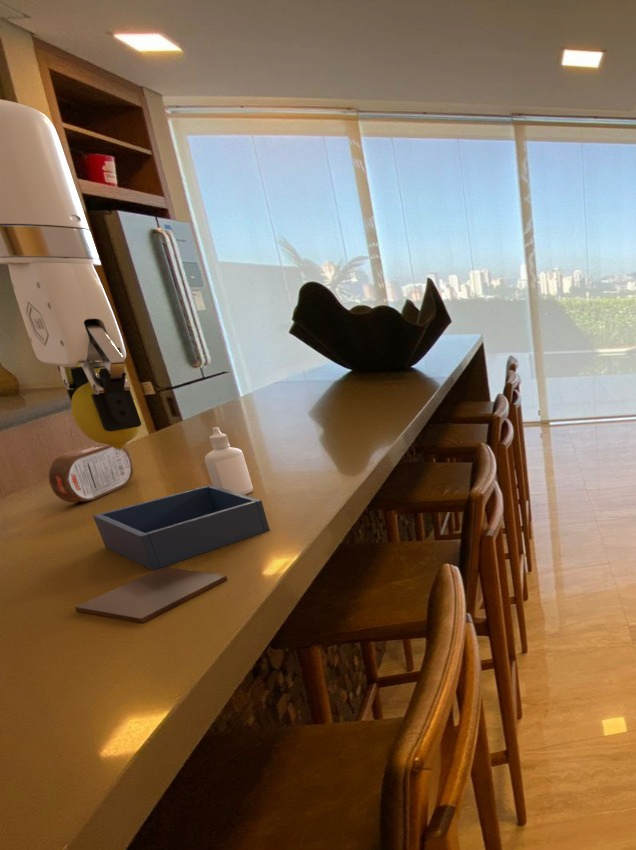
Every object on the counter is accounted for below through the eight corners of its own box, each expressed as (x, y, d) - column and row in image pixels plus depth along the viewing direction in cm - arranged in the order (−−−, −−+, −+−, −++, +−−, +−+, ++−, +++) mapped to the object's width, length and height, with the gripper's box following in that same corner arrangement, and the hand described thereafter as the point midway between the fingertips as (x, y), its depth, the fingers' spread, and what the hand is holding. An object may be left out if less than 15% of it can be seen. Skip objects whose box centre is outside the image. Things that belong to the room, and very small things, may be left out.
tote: (153, 570, 72) (140, 536, 70) (105, 547, 79) (92, 515, 77) (270, 530, 84) (261, 500, 82) (219, 512, 91) (210, 484, 89)
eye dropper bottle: (257, 494, 99) (237, 426, 94) (218, 502, 95) (196, 432, 91) (251, 488, 102) (232, 422, 97) (214, 496, 98) (192, 428, 94)
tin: (125, 480, 107) (109, 437, 104) (143, 480, 107) (127, 436, 104) (58, 509, 93) (37, 460, 90) (78, 508, 93) (58, 459, 90)
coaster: (142, 623, 61) (140, 618, 60) (76, 611, 63) (74, 606, 63) (227, 579, 70) (226, 575, 69) (166, 570, 72) (164, 566, 72)
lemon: (141, 440, 68) (117, 373, 65) (158, 447, 65) (134, 377, 62) (81, 451, 64) (53, 379, 61) (96, 458, 61) (67, 383, 58)
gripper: (-35, 250, 58) (37, 424, 64) (27, 243, 50) (102, 442, 57) (61, 253, 64) (118, 412, 70) (130, 247, 56) (187, 427, 63)
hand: (110, 424), depth 63 cm, fingers closed on lemon, 5 cm apart
